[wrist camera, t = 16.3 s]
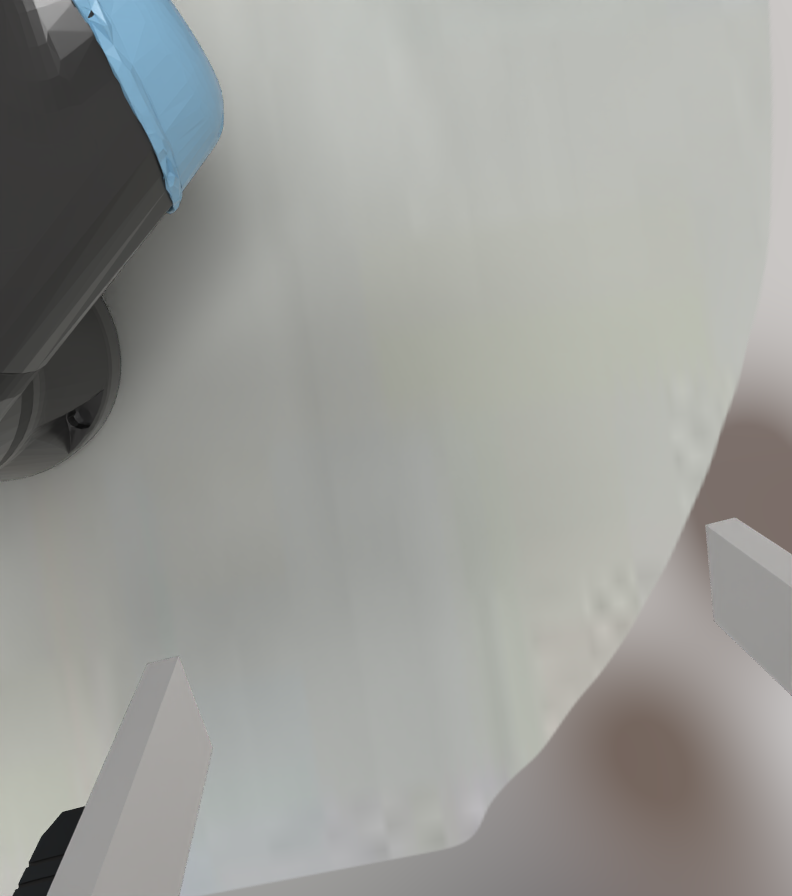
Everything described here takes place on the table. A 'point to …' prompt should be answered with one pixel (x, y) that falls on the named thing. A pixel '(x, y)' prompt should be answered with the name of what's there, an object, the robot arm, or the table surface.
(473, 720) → the table surface
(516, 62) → the table surface
